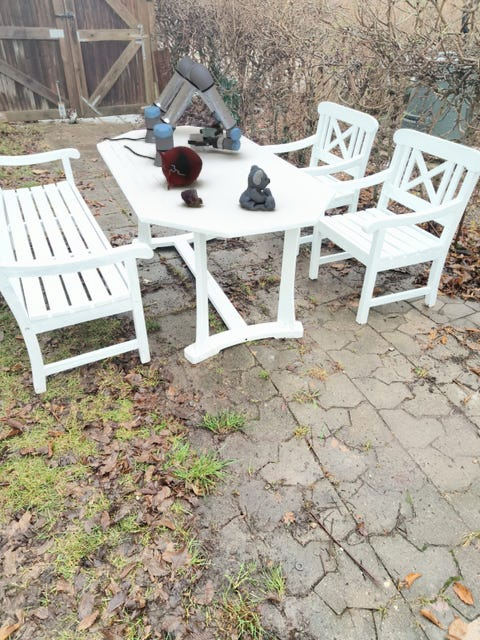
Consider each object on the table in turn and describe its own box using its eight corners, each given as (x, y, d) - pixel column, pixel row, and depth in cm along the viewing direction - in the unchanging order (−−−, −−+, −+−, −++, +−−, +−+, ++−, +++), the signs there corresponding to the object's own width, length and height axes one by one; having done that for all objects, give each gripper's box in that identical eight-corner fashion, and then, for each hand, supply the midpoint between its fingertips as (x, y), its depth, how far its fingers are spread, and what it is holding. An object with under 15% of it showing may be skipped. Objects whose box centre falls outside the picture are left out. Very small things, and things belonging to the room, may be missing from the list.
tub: (199, 142, 337) (199, 129, 332) (210, 139, 343) (209, 127, 338) (209, 144, 331) (209, 132, 326) (220, 142, 337) (219, 129, 332)
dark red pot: (160, 151, 264) (154, 150, 240) (199, 143, 263) (196, 140, 240) (169, 188, 271) (164, 190, 247) (207, 180, 270) (206, 181, 246)
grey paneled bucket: (187, 150, 323) (186, 135, 318) (197, 147, 329) (196, 132, 323) (196, 152, 318) (195, 137, 312) (206, 149, 324) (205, 134, 318)
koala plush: (276, 211, 223) (277, 171, 212) (240, 212, 222) (240, 172, 211) (271, 199, 237) (272, 161, 226) (237, 200, 236) (237, 162, 225)
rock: (196, 202, 238) (178, 205, 233) (194, 185, 234) (176, 188, 230) (205, 205, 228) (187, 208, 224) (203, 188, 224) (185, 191, 220)
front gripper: (210, 152, 306) (184, 149, 314) (227, 144, 324) (202, 141, 332) (210, 141, 302) (183, 138, 310) (227, 133, 320) (201, 131, 328)
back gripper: (231, 134, 348) (223, 140, 330) (202, 132, 353) (193, 138, 335) (231, 123, 343) (223, 129, 326) (202, 122, 348) (192, 127, 331)
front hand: (193, 140), depth 321 cm, fingers open, 13 cm apart
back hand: (208, 134), depth 330 cm, fingers closed on tub, 11 cm apart
